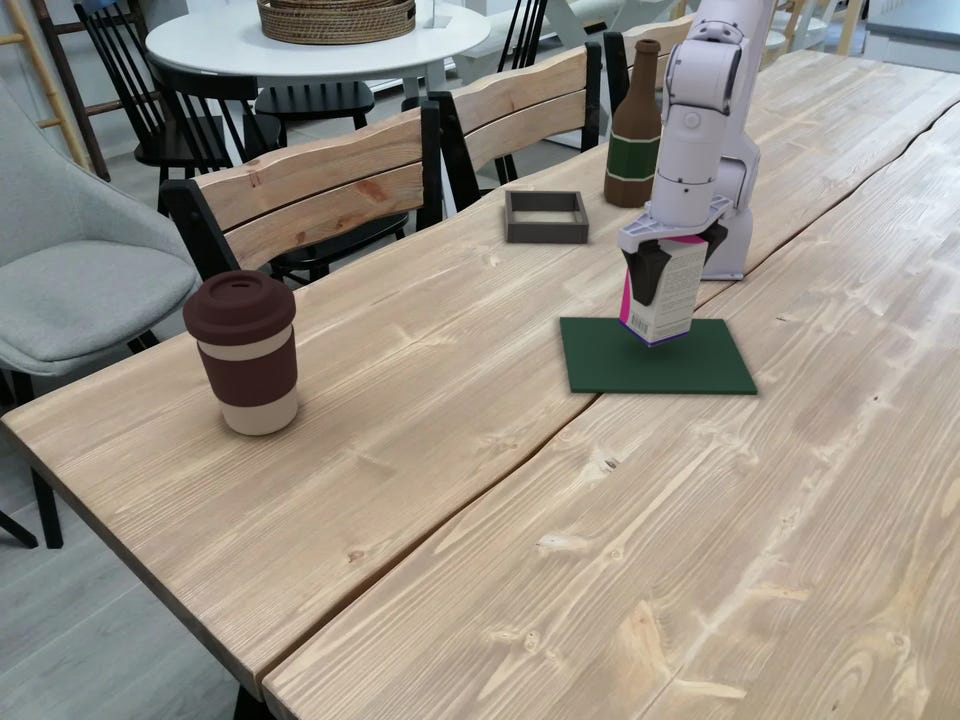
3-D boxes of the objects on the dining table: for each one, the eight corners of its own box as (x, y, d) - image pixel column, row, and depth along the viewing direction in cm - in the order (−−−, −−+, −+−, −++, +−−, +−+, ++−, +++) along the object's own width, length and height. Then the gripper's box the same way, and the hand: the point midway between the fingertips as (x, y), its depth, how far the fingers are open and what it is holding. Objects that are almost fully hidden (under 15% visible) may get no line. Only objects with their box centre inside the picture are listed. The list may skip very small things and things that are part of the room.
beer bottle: (596, 203, 118) (615, 44, 103) (608, 185, 123) (628, 32, 109) (645, 212, 115) (671, 50, 101) (654, 193, 121) (681, 38, 107)
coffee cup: (262, 460, 70) (233, 330, 61) (190, 423, 74) (153, 295, 65) (332, 404, 77) (314, 279, 68) (262, 372, 81) (238, 250, 72)
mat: (722, 322, 91) (723, 318, 90) (757, 394, 79) (758, 390, 79) (559, 320, 90) (559, 316, 90) (571, 392, 79) (571, 388, 79)
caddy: (578, 209, 116) (580, 191, 114) (587, 243, 107) (589, 224, 105) (504, 208, 116) (505, 190, 114) (506, 242, 107) (507, 223, 105)
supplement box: (690, 334, 82) (711, 241, 75) (648, 348, 80) (665, 254, 73) (657, 309, 86) (673, 219, 79) (616, 322, 84) (629, 230, 77)
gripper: (705, 145, 78) (682, 259, 86) (603, 174, 71) (588, 295, 79) (760, 167, 73) (730, 286, 81) (656, 201, 66) (635, 326, 74)
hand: (663, 292), depth 80 cm, fingers closed on supplement box, 6 cm apart
